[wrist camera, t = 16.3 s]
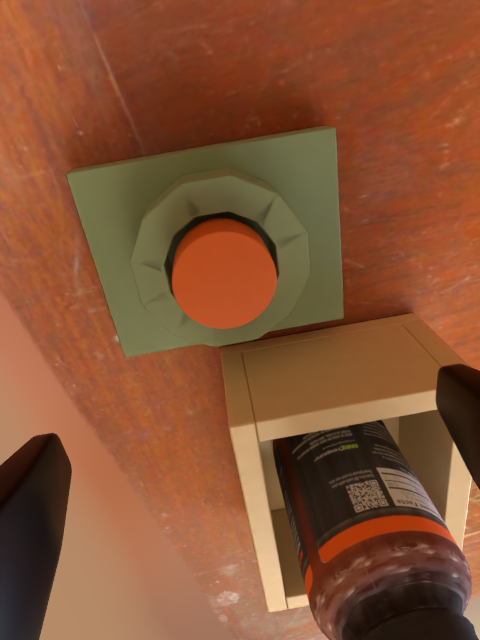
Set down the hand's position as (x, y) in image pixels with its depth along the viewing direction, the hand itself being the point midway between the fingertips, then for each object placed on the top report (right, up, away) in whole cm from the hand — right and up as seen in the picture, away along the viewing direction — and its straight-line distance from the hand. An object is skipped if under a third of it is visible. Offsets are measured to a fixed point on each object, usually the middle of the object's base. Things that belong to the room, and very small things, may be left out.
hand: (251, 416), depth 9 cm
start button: (-1, +4, +8) cm, 9 cm away
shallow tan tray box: (+4, -4, +15) cm, 16 cm away
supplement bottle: (+4, -4, +15) cm, 16 cm away
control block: (-1, +5, +10) cm, 11 cm away
